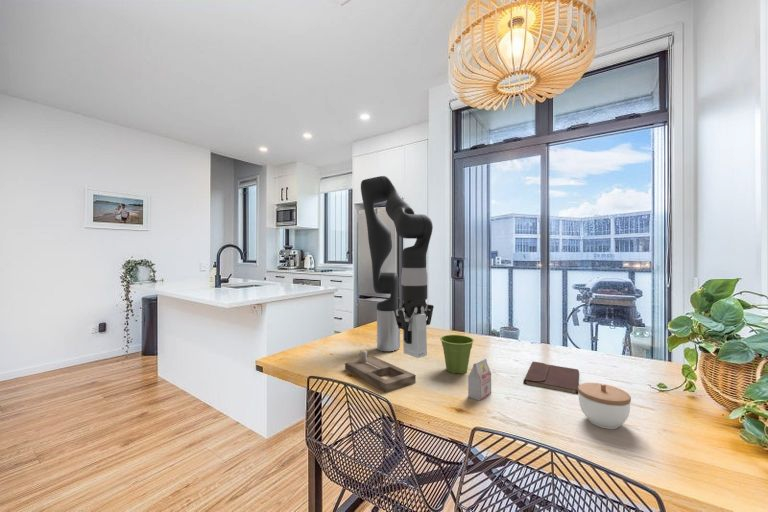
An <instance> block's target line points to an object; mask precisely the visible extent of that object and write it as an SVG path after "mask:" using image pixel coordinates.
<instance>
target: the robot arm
mask: <svg viewBox="0 0 768 512" xmlns="http://www.w3.org/2000/svg"><path fill="white" fill-rule="evenodd" d="M396 188H397V187H395V185H394V183H393V182H392V180H391V179H390V178H389V177H388V176H385V175H381V176H380V175H379V176H375V177H369V178H365V179H363V180H361V183H360V192H361V193H360V194H361V199H362V204H363V208H364V213H365V220H366V227H367V238H368V239H367V240H368V246H369V248H368V249H369V252H370V258H371V268H372V269H371V270H372V285H373V290H374V292H375V293H376V294H381V295H382V294H383V295H386V294H387V295H390V296H389V297H388V298H386V299H385V300H382V301H381V300H380V301H378V303H376V350H377V349H378V350H377V351H379V350H380V351H379V352H382V351H393V352H395V351H394V350H397V349H398V348H400V349H401V330H402V331H403V330H404V341H405V343H407V344H411V343H412V331H411V328H412V323H413V315H416V314H426V327H427V326H430V325H431V322H432V317H433V311H434V307H435V306H434V305H433V304H428V303H427V302H426V300H428V272H427V271H428V270H427V255H428V254H427V253H428V249H429V245H430V240H431V237H432V234H433V227H434V226H433V221H432V219H431V218H430V216H429V215H426V214H419V213H418V214H415V211H414V208H413V207H412V206H410V204H408V203H407V202H406V201H405V200H404V199H403V198H402V197H401V195H400V193H399V191H398V190H397V189H396ZM383 202H385V212H386V214H387V216H388V217H389V218H390V220H392V222H393V224H394V228H395V231H396V235H397V236H399V237H400V238H403V239H412V240H413V239H415V242H414V244H413V245H412V246H408V247H404V248H403V249H402V253H401V255H402V256H401V260H402V261H401V265H402V266H401V279H400V280H401V281H400V280H399V275H398V273H397V272H382V271H381V269H382V267H383V265H384V263H385V261H386V259H387V258H388V256H389V255H390V254H391V252H392V249H393V241H392V232H391V230H390V229H389V227H388V226H387V225H386V223H385V222H384V221H383V220H382V219H381V218H380V217H379V215H378V214H377V213H376V210H375V207H374V204H378V203H383ZM399 282H401V288H400V289H401V290H400V291H401V299H402V305H401V307H400V308H399V284H400V283H399ZM406 316H407V317H408V318H410V320H409V319H407V318H406ZM407 322H408V326H407ZM398 350H399V349H398ZM398 350H397V351H398Z"/></svg>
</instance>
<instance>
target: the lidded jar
mask: <svg viewBox="0 0 768 512" xmlns="http://www.w3.org/2000/svg"><path fill="white" fill-rule="evenodd" d="M577 395H578V402H579V407H580V409H581V411H582V413H583V414H584V416H585V417H586V418H587V419H588V421H589V422H590V423H591V424H592V425H594V426H596V427H598V428H602V429H605V430H606V429H607V430H616V429H619V427H620V426H622V425H623V424H624V423H625V422H627V420H628V418H629V416H630V410H631V402H632V400H631V399H632V398H631V395H630V394H629V393H628V391H627V392H626V391H625V390H623V389H621V388H618V387H616V386H613V385H609V384H606V383H599V382H584V383H579V385H578V394H577Z"/></svg>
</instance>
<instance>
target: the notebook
mask: <svg viewBox="0 0 768 512" xmlns="http://www.w3.org/2000/svg"><path fill="white" fill-rule="evenodd" d="M579 378H580V371H579V369H578V368H572V367H566V366H560V365H553V364H547V363H543V362H539V361H532V362H531V363H530V366H529V368H528V370H527V373H526V375H525V377H524V379H523V382H522V383H523V384H524V383H527V384H526V385H530V384H531V385H532V386H534V387H535V386H536V387H540V388H541V387H542V388H546V389H552V390H557V391H562V392H567V393H572V394H577V395H578V393H579V392H578V386H579V385H580V383H579ZM525 381H526V382H525ZM531 385H530V386H531Z"/></svg>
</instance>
